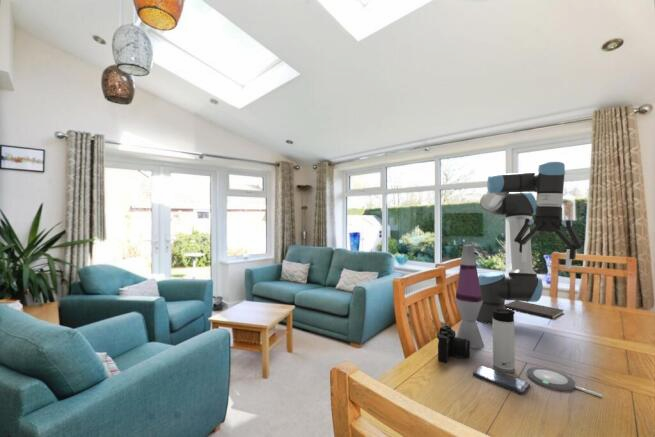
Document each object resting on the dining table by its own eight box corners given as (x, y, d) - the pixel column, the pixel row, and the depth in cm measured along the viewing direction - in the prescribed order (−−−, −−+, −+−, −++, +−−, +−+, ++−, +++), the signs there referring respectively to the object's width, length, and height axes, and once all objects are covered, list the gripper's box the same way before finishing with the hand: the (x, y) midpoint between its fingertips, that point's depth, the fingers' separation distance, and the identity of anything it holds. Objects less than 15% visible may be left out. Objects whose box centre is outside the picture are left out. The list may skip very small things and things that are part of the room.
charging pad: (521, 379, 93) (521, 375, 93) (533, 366, 100) (533, 363, 100) (598, 406, 79) (598, 402, 79) (605, 389, 87) (604, 385, 87)
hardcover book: (516, 304, 175) (515, 300, 175) (563, 314, 156) (563, 309, 156) (503, 309, 166) (503, 305, 166) (552, 320, 147) (552, 315, 147)
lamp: (457, 335, 127) (456, 243, 128) (485, 341, 121) (484, 244, 121) (452, 344, 119) (451, 245, 119) (482, 351, 112) (480, 246, 113)
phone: (472, 375, 95) (472, 372, 95) (481, 368, 99) (481, 365, 99) (522, 395, 84) (522, 391, 84) (530, 386, 89) (530, 382, 89)
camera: (467, 369, 99) (467, 339, 99) (434, 361, 105) (434, 333, 105) (471, 352, 111) (471, 326, 111) (442, 346, 117) (441, 321, 117)
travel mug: (508, 375, 95) (507, 313, 95) (489, 366, 101) (488, 308, 101) (519, 370, 98) (519, 310, 98) (500, 362, 104) (499, 305, 104)
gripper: (506, 205, 113) (503, 259, 114) (590, 206, 93) (585, 272, 93) (515, 205, 117) (512, 258, 118) (598, 207, 97) (593, 270, 97)
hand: (544, 265), depth 106 cm, fingers open, 13 cm apart
